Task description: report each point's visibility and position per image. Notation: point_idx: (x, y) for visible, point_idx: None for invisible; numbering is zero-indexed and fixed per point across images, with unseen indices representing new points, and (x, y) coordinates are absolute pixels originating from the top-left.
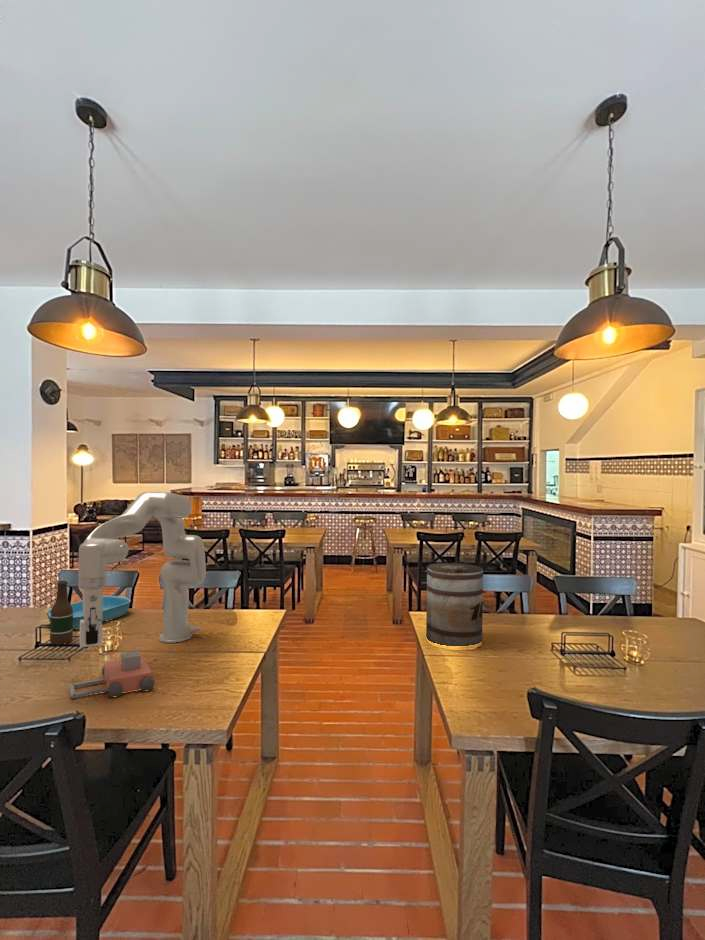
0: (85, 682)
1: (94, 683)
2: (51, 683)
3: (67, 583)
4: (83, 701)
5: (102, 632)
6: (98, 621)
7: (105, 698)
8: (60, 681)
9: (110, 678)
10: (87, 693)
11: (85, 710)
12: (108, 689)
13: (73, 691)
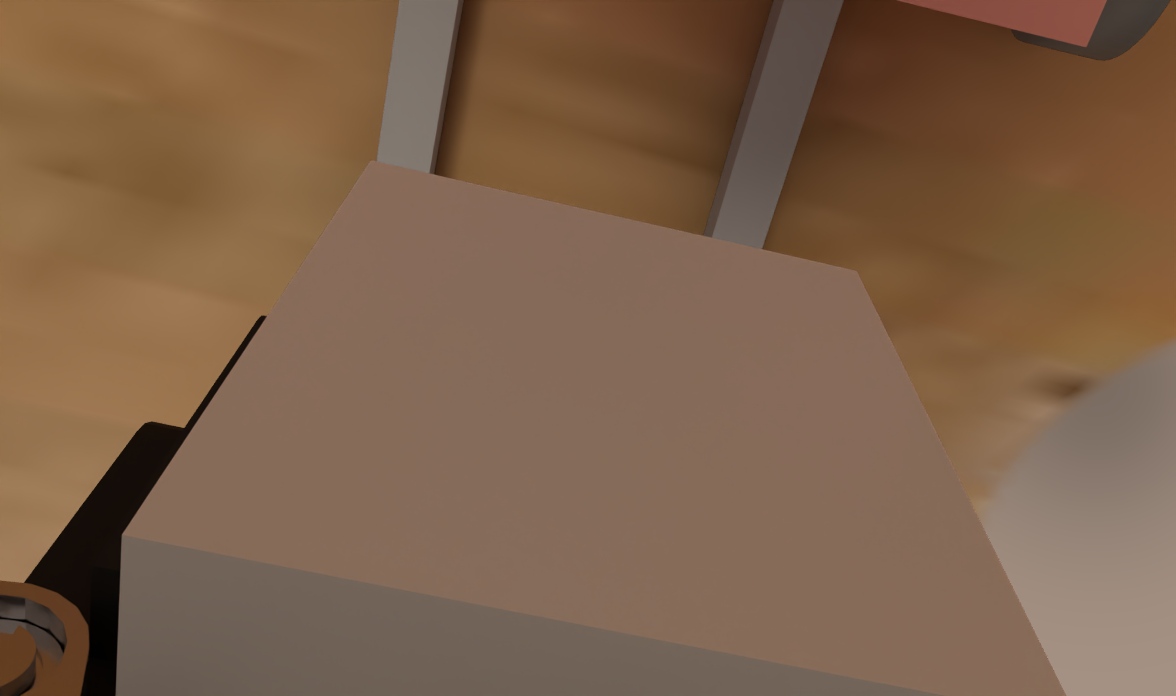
0: (412, 139)
1: (455, 25)
2: (84, 389)
3: None
4: (874, 276)
5: (958, 478)
6: (167, 660)
7: (1003, 53)
8: (69, 303)
9: (1032, 10)
10: (769, 214)
11: (1127, 329)
12: (1088, 54)
13: None
